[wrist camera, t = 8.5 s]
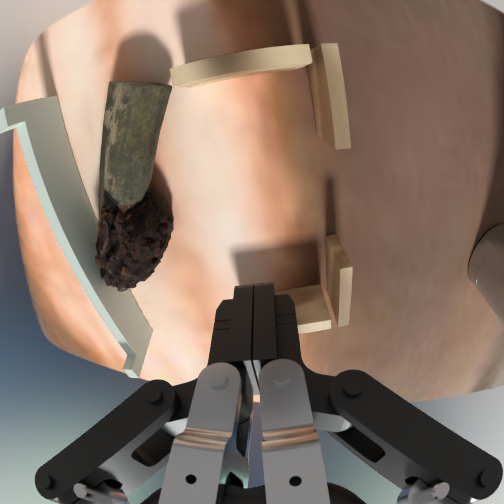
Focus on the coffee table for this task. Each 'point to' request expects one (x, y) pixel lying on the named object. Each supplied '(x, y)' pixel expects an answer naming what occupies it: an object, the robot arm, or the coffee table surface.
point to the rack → (74, 219)
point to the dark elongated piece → (131, 185)
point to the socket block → (328, 129)
